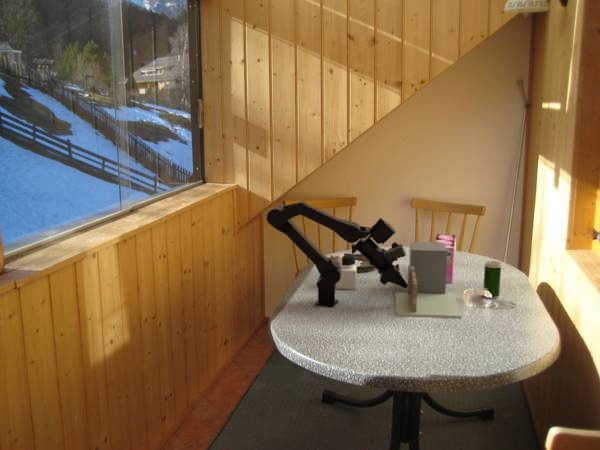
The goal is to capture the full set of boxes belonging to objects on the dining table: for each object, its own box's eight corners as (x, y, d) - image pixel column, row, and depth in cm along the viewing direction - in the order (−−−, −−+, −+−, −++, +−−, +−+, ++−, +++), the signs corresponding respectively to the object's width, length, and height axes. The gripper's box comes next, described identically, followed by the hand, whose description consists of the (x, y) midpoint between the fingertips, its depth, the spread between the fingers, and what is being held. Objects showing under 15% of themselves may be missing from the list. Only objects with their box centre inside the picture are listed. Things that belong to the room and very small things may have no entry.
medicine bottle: (356, 283, 235) (356, 252, 232) (356, 289, 228) (356, 257, 225) (337, 283, 235) (337, 251, 233) (336, 289, 228) (336, 256, 226)
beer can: (492, 300, 215) (494, 265, 213) (479, 295, 220) (481, 262, 217) (502, 297, 218) (504, 263, 216) (490, 293, 223) (492, 260, 220)
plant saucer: (320, 269, 256) (320, 261, 255) (348, 258, 272) (348, 251, 271) (364, 277, 244) (364, 269, 243) (390, 266, 260) (391, 258, 259)
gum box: (435, 265, 259) (436, 233, 256) (455, 267, 257) (456, 234, 254) (430, 282, 237) (432, 246, 234) (452, 283, 235) (454, 247, 232)
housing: (395, 284, 234) (396, 241, 231) (450, 285, 231) (452, 243, 228) (396, 315, 201) (397, 266, 198) (461, 318, 198) (463, 268, 195)
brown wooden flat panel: (410, 294, 219) (411, 268, 217) (414, 294, 219) (414, 268, 217) (412, 311, 202) (413, 284, 200) (416, 311, 201) (417, 284, 200)
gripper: (391, 243, 196) (426, 278, 197) (391, 230, 214) (423, 263, 215) (365, 267, 199) (400, 302, 199) (367, 252, 217) (399, 284, 217)
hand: (406, 286), depth 208 cm, fingers closed
